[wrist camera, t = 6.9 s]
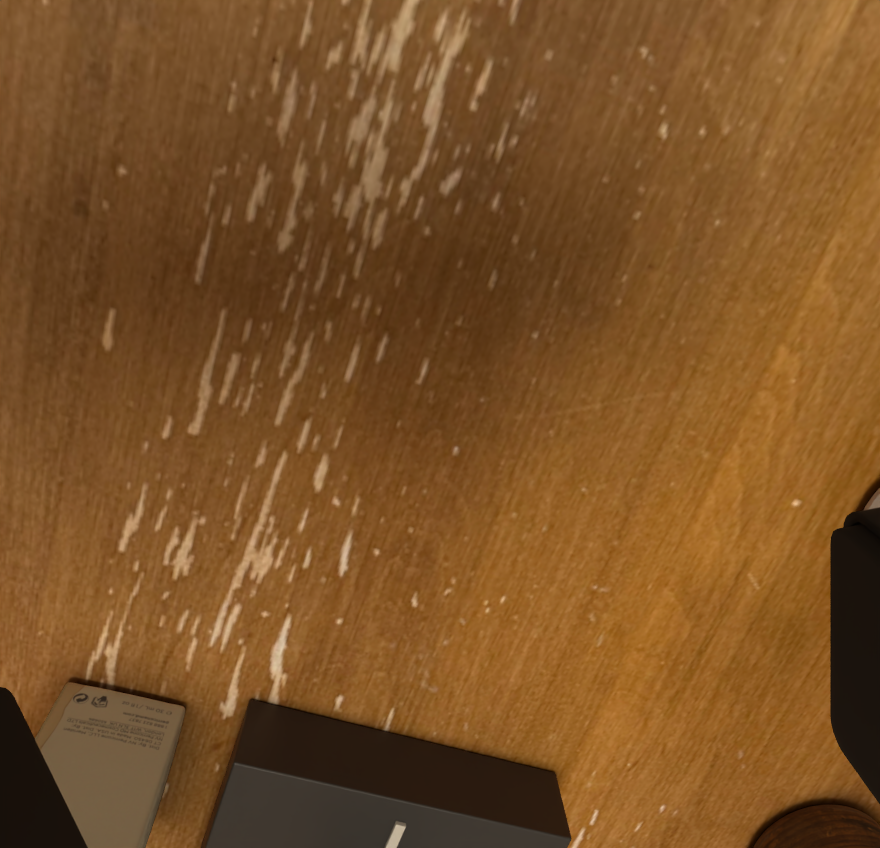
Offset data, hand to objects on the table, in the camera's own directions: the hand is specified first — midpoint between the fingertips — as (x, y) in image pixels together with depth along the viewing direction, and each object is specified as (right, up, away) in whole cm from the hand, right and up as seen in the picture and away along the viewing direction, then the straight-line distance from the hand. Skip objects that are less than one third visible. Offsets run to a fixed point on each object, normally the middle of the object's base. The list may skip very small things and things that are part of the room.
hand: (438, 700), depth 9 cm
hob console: (-3, -13, +21) cm, 25 cm away
